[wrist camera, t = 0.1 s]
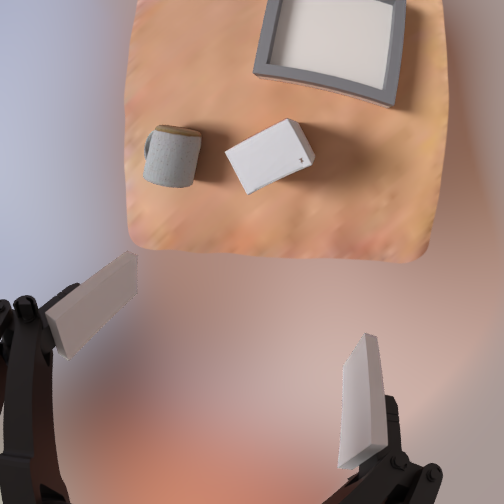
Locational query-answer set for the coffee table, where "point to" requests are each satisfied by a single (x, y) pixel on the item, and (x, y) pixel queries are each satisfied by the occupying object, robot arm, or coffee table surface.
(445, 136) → the coffee table surface
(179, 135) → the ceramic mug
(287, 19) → the square gray-rimmed holder
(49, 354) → the robot arm
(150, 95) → the coffee table surface
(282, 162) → the small box
